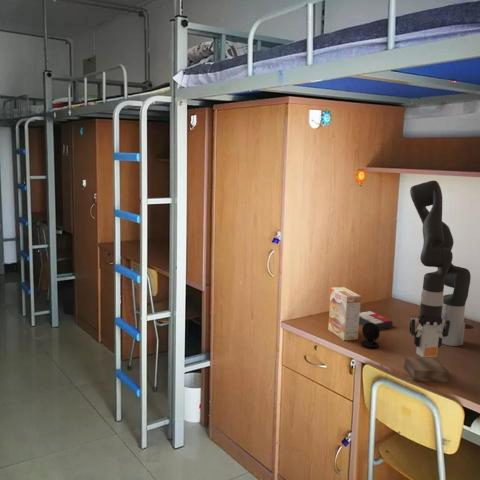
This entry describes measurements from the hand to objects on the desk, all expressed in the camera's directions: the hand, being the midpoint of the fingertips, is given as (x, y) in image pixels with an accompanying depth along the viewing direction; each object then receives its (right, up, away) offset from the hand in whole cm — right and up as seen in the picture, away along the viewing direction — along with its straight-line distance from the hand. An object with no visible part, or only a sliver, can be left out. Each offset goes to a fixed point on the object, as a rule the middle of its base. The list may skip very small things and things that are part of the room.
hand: (427, 346), depth 198 cm
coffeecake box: (-23, -3, +42) cm, 48 cm away
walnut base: (0, -11, +2) cm, 11 cm away
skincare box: (0, -3, +1) cm, 4 cm away
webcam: (-14, -6, +29) cm, 33 cm away
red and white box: (-6, -1, +59) cm, 59 cm away
